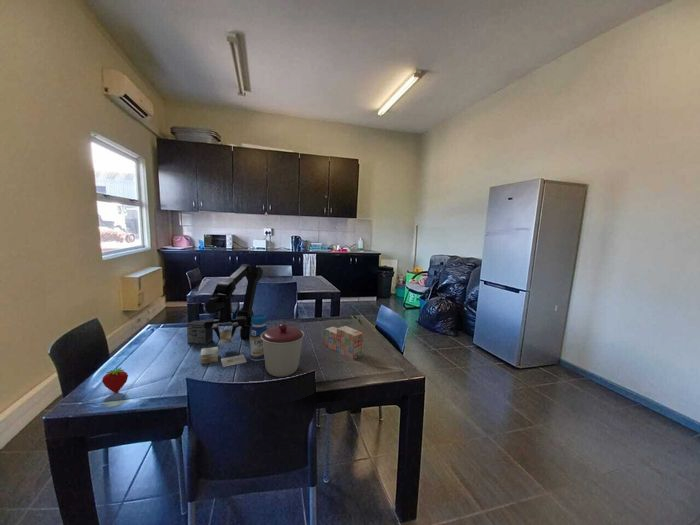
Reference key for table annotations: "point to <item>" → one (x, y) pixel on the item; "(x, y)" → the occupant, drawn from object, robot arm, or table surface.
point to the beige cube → (225, 336)
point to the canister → (282, 349)
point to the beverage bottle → (257, 337)
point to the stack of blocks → (344, 341)
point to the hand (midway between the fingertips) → (225, 338)
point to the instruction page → (233, 360)
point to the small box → (199, 333)
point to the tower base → (209, 355)
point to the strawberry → (115, 379)
